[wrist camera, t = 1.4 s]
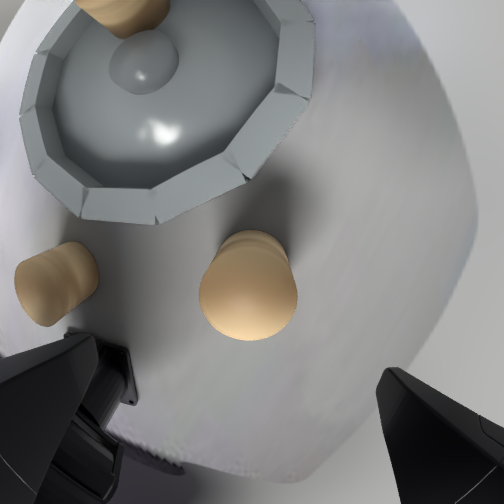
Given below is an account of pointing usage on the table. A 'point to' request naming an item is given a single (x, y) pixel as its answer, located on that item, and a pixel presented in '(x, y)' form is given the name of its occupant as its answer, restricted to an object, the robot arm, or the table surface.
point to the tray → (164, 105)
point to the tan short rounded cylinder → (126, 14)
